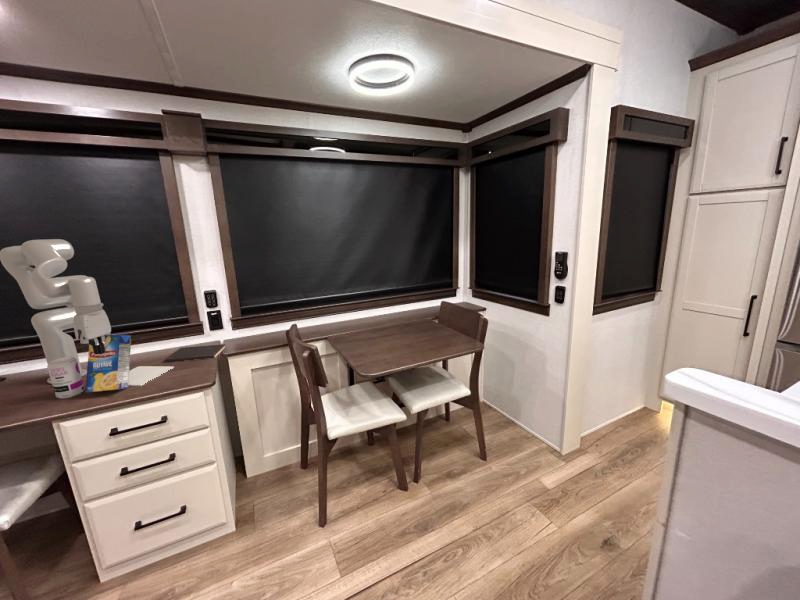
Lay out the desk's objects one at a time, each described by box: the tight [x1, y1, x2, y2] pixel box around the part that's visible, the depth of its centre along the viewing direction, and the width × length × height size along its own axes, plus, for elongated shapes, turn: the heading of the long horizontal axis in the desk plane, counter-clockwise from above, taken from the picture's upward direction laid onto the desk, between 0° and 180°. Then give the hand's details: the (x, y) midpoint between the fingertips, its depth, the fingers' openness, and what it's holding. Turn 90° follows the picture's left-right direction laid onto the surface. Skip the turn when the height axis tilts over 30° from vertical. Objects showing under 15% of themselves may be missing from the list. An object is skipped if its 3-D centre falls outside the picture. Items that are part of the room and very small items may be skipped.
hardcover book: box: [164, 343, 226, 363], centre depth 165 cm, size 16×23×2 cm
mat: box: [128, 365, 175, 387], centre depth 142 cm, size 18×18×1 cm
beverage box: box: [84, 334, 132, 393], centre depth 129 cm, size 7×11×22 cm, turn 100°
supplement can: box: [46, 357, 86, 400], centre depth 125 cm, size 8×8×15 cm
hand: (100, 353), depth 124 cm, fingers closed
